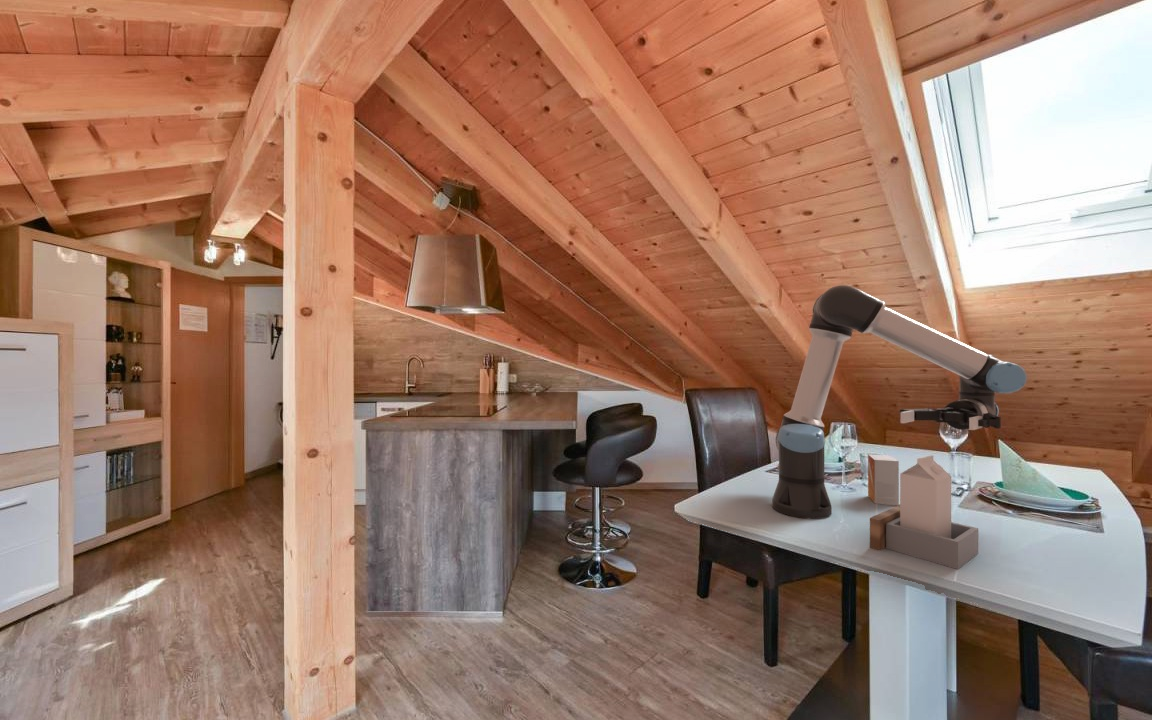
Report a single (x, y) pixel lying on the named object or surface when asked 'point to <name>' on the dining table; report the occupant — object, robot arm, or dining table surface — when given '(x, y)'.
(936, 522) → the milk carton
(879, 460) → the small box
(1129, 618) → the dining table surface
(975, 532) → the tray
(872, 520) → the walnut wall
